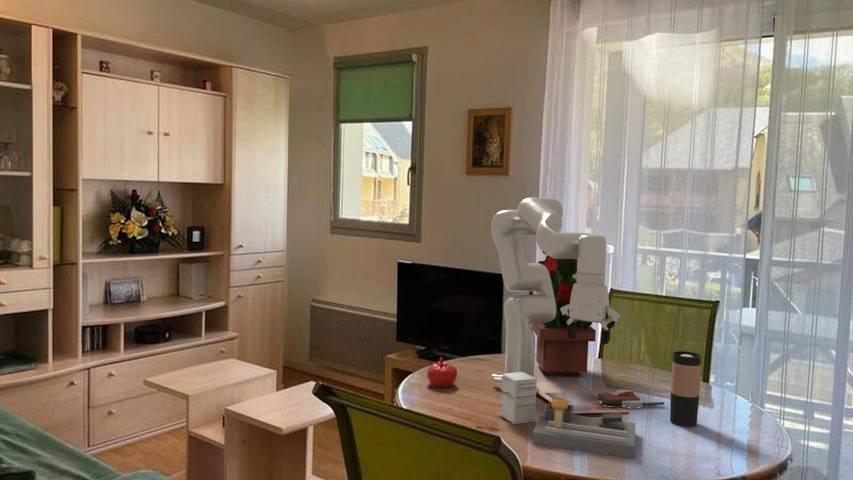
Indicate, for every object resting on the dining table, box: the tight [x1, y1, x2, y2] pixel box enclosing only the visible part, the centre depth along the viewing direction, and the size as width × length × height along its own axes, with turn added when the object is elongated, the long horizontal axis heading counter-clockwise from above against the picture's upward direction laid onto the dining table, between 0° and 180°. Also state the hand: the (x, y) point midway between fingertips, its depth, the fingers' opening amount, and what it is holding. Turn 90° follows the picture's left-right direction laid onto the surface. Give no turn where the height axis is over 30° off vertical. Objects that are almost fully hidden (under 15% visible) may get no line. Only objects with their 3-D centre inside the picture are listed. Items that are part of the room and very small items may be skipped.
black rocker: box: [601, 413, 623, 423], centre depth 172 cm, size 5×4×1 cm
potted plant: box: [528, 250, 597, 377], centre depth 236 cm, size 22×22×45 cm
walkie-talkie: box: [597, 389, 666, 409], centre depth 201 cm, size 9×4×20 cm
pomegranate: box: [426, 357, 458, 388], centre depth 215 cm, size 10×10×9 cm
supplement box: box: [500, 372, 538, 425], centre depth 184 cm, size 7×7×13 cm
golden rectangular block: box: [554, 407, 564, 429], centre depth 168 cm, size 2×3×5 cm, turn 162°
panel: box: [531, 402, 636, 459], centre depth 170 cm, size 25×18×6 cm
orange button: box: [550, 397, 569, 412], centre depth 177 cm, size 4×4×3 cm
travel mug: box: [669, 350, 702, 428], centre depth 184 cm, size 8×8×20 cm
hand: (588, 341), depth 178 cm, fingers open, 9 cm apart
